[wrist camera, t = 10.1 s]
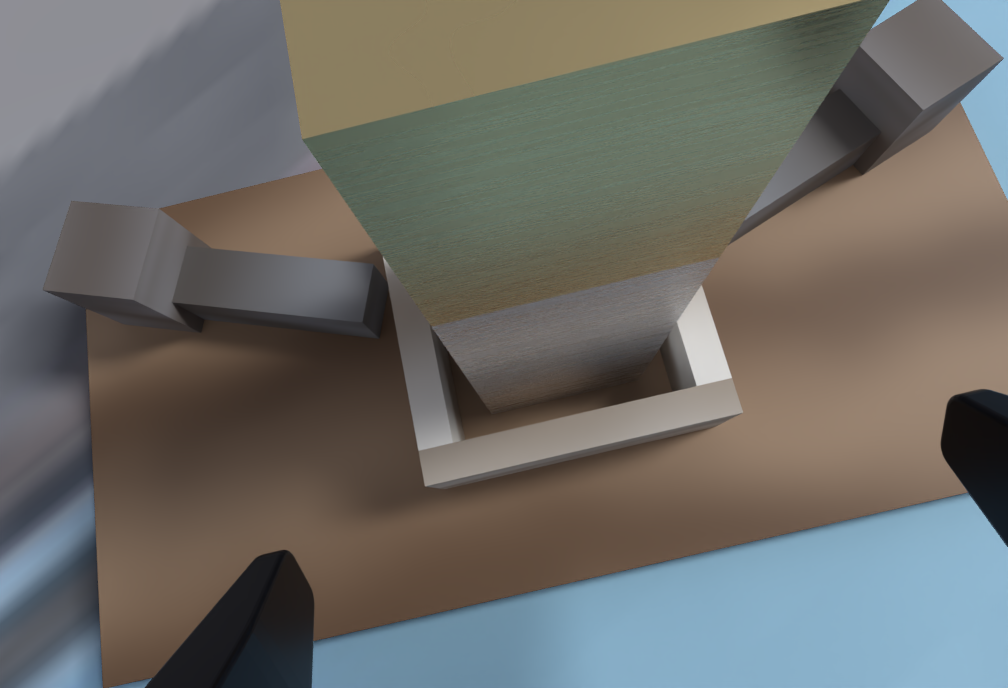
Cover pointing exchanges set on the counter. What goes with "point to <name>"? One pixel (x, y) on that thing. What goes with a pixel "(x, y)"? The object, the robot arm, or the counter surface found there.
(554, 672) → the counter surface
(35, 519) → the counter surface
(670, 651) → the counter surface
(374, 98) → the block
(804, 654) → the counter surface
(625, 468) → the shaft board
